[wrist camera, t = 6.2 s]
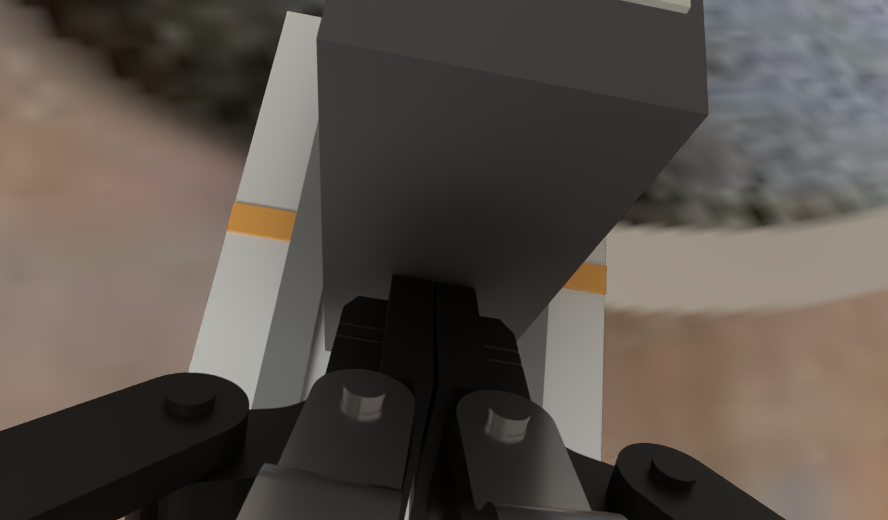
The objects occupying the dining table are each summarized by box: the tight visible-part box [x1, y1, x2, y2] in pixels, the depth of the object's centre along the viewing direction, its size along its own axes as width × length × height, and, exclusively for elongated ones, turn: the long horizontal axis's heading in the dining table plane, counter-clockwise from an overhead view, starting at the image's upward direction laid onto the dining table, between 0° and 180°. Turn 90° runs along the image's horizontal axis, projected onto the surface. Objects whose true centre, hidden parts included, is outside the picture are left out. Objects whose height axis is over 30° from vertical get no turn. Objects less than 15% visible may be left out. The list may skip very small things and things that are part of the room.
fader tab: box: [316, 0, 708, 351], centre depth 12 cm, size 3×4×11 cm
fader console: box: [188, 11, 607, 520], centre depth 17 cm, size 22×10×2 cm, turn 173°
